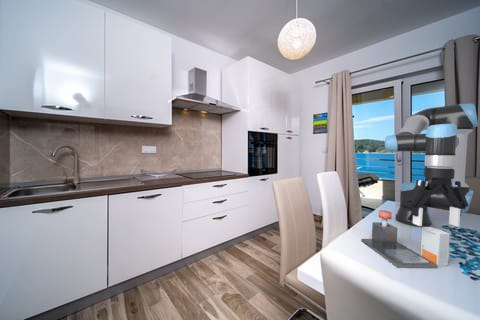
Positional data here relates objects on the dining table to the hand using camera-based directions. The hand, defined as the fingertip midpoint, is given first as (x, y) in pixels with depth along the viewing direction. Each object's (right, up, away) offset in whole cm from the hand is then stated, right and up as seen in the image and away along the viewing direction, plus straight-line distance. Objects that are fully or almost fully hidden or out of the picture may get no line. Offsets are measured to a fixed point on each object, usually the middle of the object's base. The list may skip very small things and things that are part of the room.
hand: (435, 225), depth 67 cm
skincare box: (0, -14, +1) cm, 14 cm away
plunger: (-10, -9, +12) cm, 18 cm away
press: (-10, -14, +6) cm, 18 cm away
